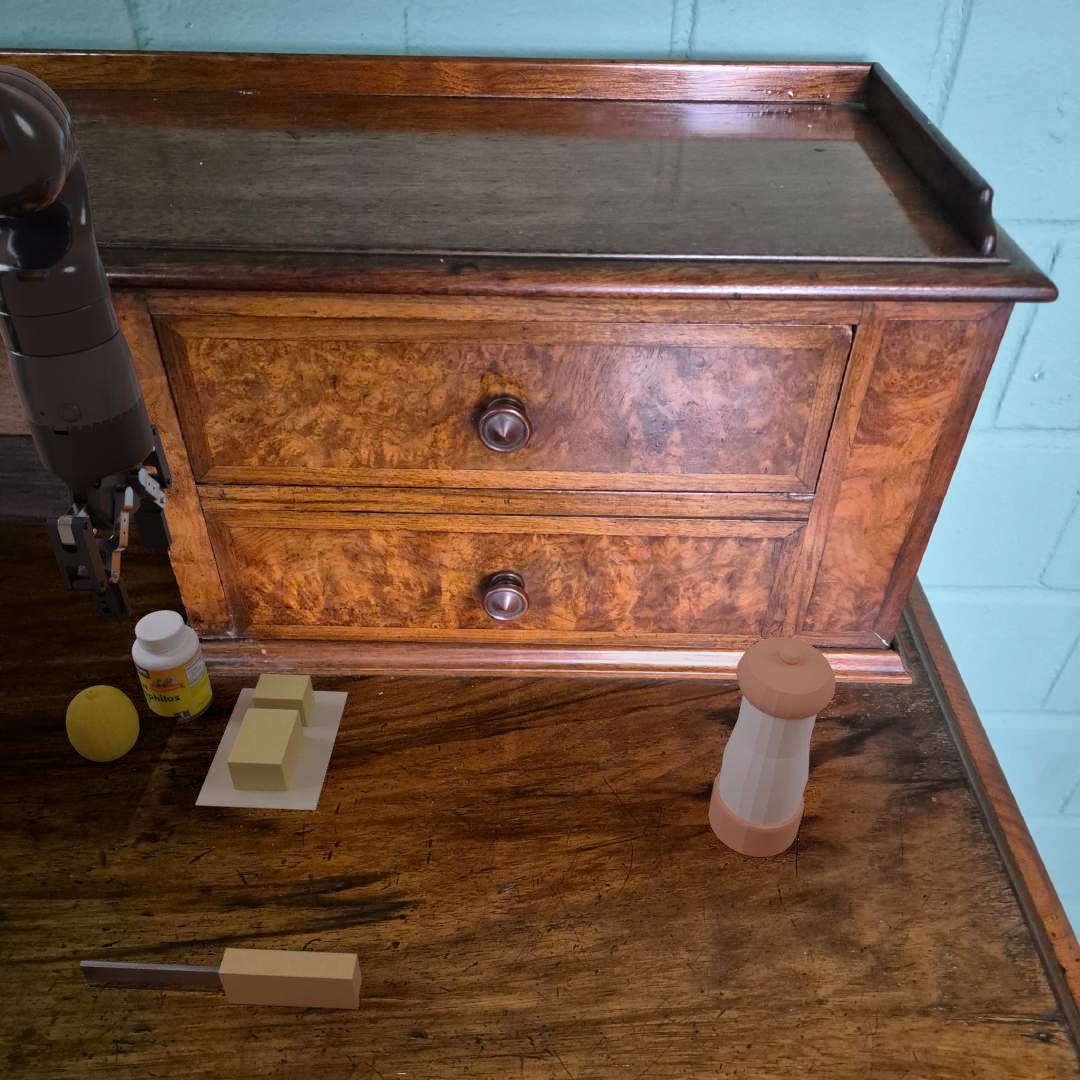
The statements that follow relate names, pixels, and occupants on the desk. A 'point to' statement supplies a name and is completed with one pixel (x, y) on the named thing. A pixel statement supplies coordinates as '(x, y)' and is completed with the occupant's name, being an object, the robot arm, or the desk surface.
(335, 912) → the desk surface
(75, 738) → the lemon
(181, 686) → the supplement bottle
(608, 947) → the desk surface
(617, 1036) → the desk surface
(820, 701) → the pepper shaker
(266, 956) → the knife
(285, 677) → the butter slice
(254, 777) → the butter block
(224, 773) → the butter dish
